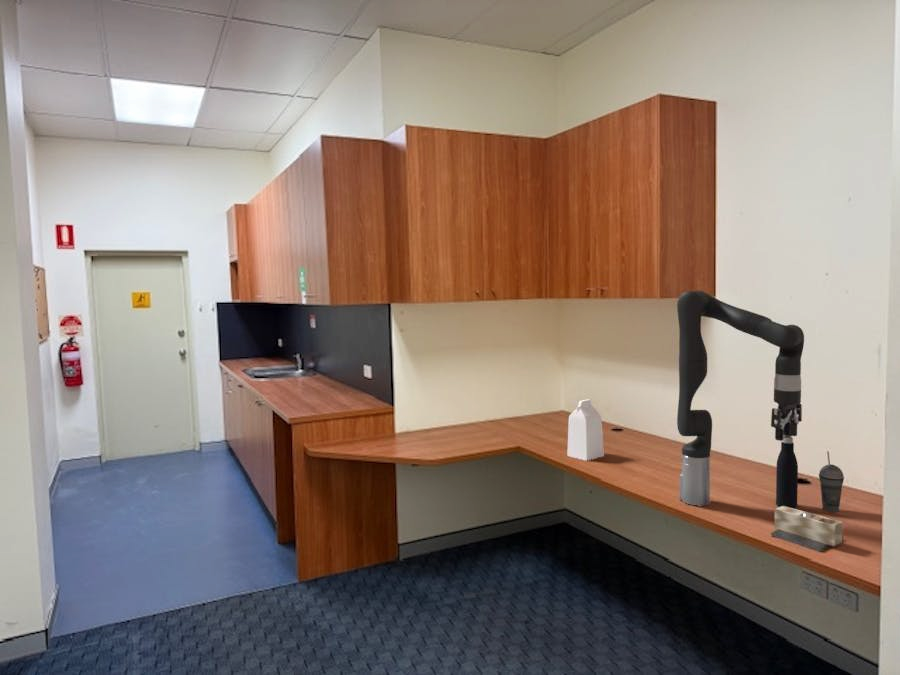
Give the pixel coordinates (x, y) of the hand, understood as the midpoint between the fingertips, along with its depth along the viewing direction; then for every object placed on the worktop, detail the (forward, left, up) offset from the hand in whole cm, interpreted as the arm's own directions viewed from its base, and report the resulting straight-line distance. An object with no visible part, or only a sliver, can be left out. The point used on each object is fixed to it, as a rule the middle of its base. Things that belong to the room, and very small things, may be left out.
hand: (786, 437), depth 190 cm
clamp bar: (+10, -7, -27) cm, 29 cm away
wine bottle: (-7, +15, -28) cm, 32 cm away
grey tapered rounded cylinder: (+4, +22, -28) cm, 36 cm away
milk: (-94, +8, -28) cm, 98 cm away
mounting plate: (+10, -7, -28) cm, 30 cm away
